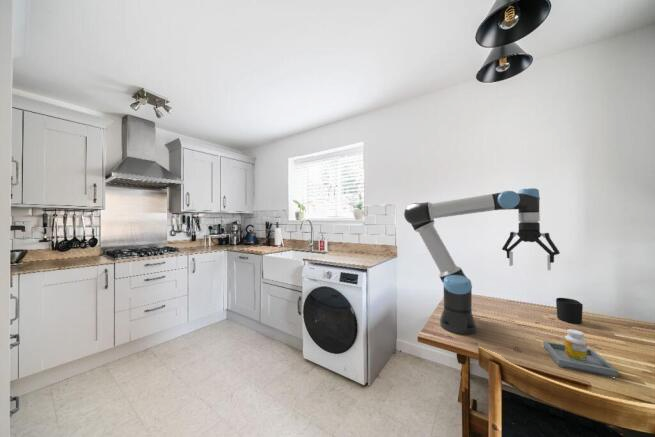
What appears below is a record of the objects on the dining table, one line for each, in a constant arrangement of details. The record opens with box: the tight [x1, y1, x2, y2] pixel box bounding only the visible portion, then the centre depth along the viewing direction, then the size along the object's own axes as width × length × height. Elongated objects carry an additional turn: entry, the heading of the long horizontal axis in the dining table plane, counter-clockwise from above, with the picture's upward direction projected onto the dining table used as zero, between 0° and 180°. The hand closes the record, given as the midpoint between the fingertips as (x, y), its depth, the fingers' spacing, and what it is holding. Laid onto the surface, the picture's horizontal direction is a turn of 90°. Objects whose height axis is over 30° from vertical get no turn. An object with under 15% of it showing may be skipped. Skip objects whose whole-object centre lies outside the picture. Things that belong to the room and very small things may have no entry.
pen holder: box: [555, 297, 584, 325], centre depth 119 cm, size 9×9×10 cm
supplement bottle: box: [564, 328, 588, 363], centre depth 85 cm, size 5×5×10 cm
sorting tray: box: [543, 340, 618, 379], centre depth 85 cm, size 14×14×2 cm
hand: (529, 267), depth 109 cm, fingers open, 13 cm apart
